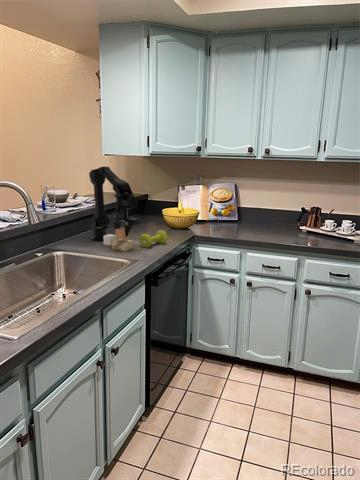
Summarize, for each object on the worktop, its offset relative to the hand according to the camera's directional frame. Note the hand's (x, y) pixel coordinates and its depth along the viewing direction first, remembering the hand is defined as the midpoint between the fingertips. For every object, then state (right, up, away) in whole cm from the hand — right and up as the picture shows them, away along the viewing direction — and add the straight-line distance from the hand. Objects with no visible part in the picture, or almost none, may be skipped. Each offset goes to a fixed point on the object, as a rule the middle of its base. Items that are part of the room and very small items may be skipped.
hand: (122, 236), depth 202 cm
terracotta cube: (0, -1, 0) cm, 1 cm away
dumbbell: (+16, -5, +10) cm, 19 cm away
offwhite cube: (-8, -4, +9) cm, 13 cm away
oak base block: (0, -7, +2) cm, 7 cm away
